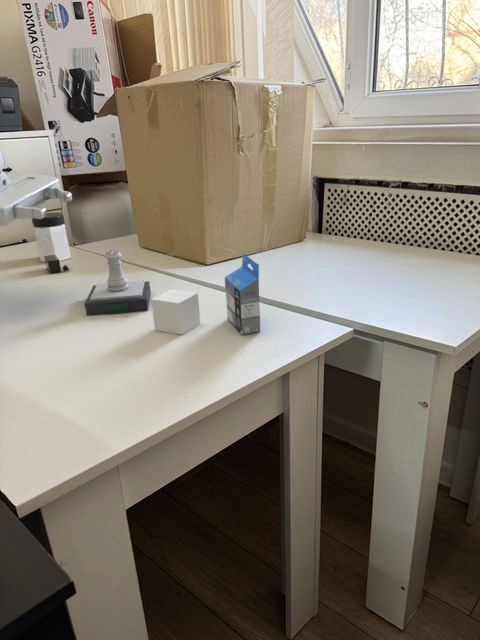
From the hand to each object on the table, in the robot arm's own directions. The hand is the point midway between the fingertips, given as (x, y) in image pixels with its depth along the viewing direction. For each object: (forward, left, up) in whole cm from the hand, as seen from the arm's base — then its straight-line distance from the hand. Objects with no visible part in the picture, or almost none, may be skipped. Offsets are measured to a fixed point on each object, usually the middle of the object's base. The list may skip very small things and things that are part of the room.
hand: (57, 205), depth 96 cm
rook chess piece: (+9, +1, -18) cm, 20 cm away
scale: (+9, 0, -21) cm, 22 cm away
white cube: (+21, -16, -21) cm, 33 cm away
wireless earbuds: (-10, +30, -21) cm, 38 cm away
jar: (-13, +43, -21) cm, 50 cm away
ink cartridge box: (+33, -18, -21) cm, 43 cm away
